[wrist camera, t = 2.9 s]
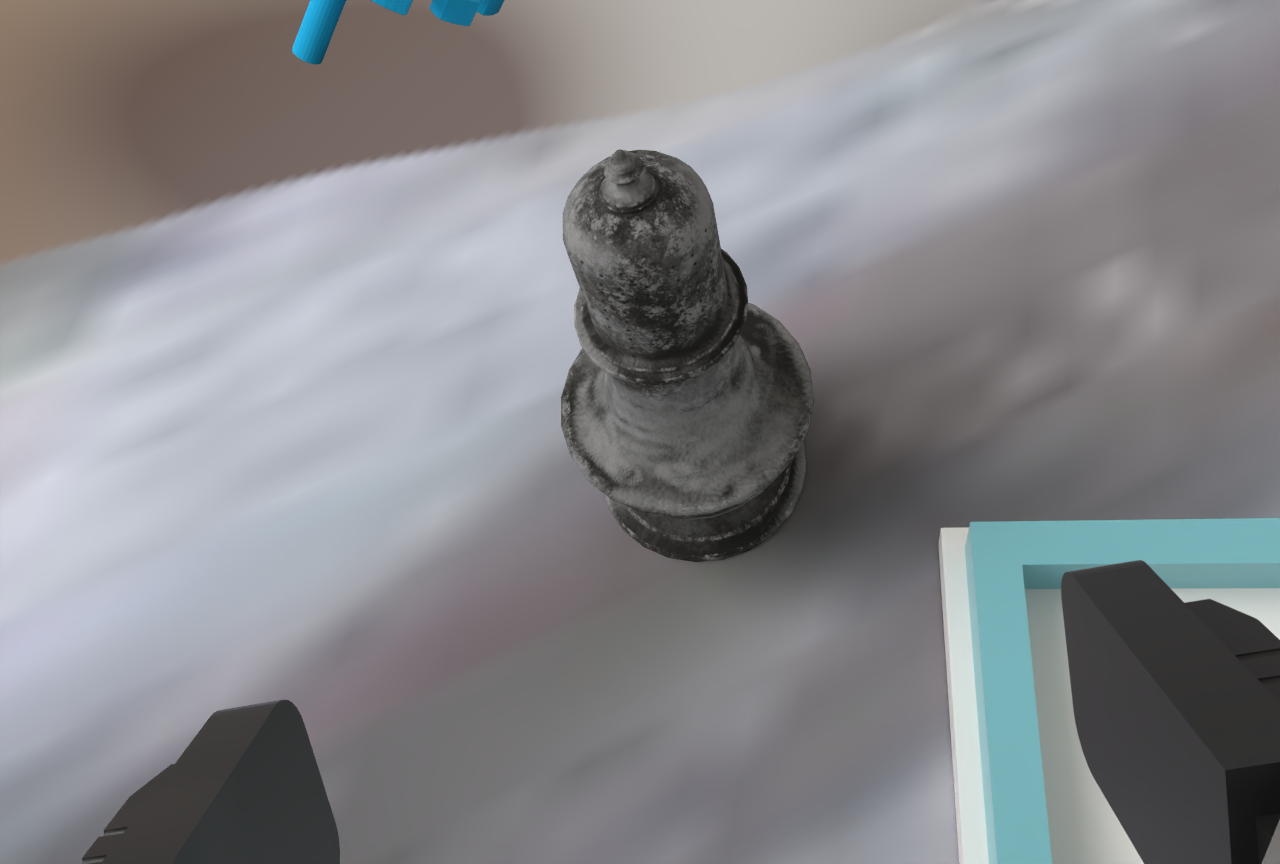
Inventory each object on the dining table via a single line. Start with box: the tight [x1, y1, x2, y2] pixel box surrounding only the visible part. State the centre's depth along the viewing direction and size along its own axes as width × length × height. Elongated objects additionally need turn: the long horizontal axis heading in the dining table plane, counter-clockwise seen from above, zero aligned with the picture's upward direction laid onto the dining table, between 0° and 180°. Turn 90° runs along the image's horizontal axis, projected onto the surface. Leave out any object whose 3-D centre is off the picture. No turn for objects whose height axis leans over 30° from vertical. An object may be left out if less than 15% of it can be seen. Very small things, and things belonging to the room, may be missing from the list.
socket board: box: [938, 518, 1280, 864], centre depth 23 cm, size 12×12×2 cm
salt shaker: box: [561, 150, 814, 562], centre depth 25 cm, size 6×6×12 cm
